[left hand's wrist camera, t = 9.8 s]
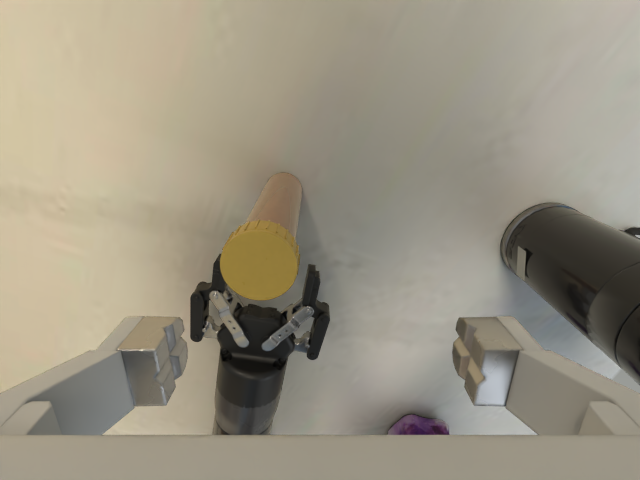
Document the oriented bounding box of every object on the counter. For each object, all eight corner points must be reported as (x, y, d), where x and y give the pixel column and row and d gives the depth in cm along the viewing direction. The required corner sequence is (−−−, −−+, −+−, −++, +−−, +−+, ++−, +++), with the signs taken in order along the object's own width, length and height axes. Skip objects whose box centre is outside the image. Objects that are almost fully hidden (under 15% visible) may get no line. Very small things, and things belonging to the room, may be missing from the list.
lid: (246, 295, 25) (241, 311, 23) (212, 235, 23) (203, 247, 21) (311, 271, 24) (310, 286, 22) (281, 207, 23) (278, 217, 21)
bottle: (274, 213, 40) (245, 300, 23) (259, 180, 39) (215, 248, 22) (308, 200, 40) (302, 279, 23) (293, 166, 38) (275, 224, 21)
